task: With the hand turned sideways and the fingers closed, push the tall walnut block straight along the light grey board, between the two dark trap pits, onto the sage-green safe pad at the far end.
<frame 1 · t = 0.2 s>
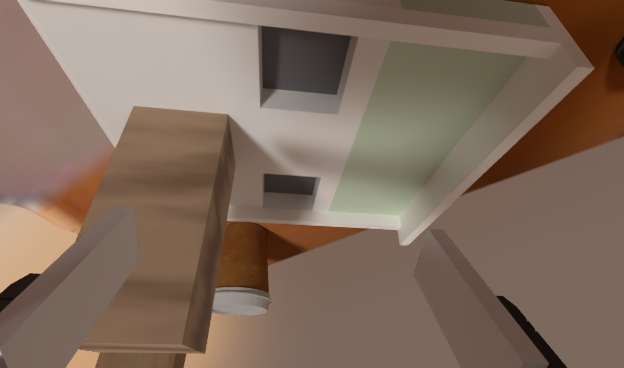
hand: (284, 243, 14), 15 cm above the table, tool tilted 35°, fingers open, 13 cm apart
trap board: (285, 125, 29), on the table
disposable coffee cup: (246, 229, 50), on the table
walnut block: (190, 139, 27), point 2 cm above the table, touching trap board
wooden block: (174, 243, 55), on the table
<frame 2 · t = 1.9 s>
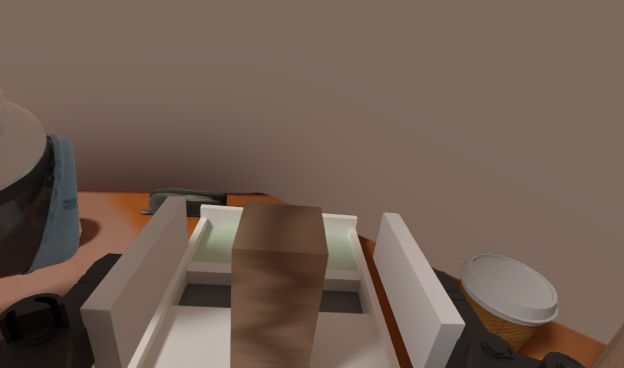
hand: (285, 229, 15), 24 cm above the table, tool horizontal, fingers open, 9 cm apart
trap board: (273, 311, 41), on the table
disposable coffee cup: (472, 354, 39), on the table
walnut block: (270, 355, 32), point 2 cm above the table, touching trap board
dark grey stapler: (185, 215, 59), on the table
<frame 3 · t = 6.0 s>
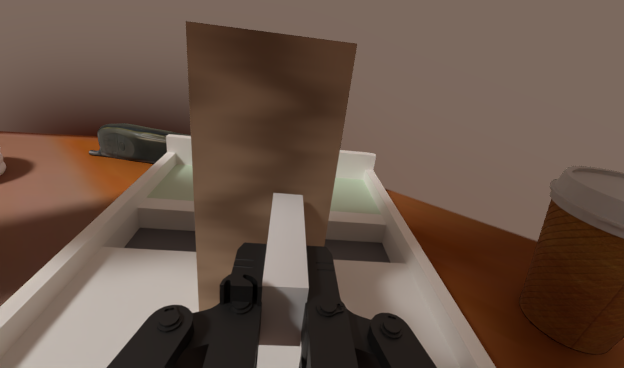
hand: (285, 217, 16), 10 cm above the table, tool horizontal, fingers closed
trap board: (262, 264, 28), on the table
disposable coffee cup: (560, 321, 26), on the table
walnut block: (260, 277, 23), point 3 cm above the table, touching gripper
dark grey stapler: (145, 162, 45), on the table
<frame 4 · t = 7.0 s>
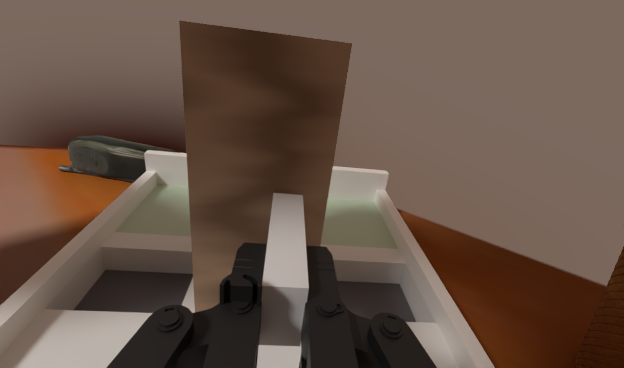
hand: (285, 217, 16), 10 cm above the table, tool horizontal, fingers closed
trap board: (254, 319, 22), on the table
walnut block: (253, 277, 22), point 3 cm above the table, touching gripper
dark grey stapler: (122, 180, 40), on the table
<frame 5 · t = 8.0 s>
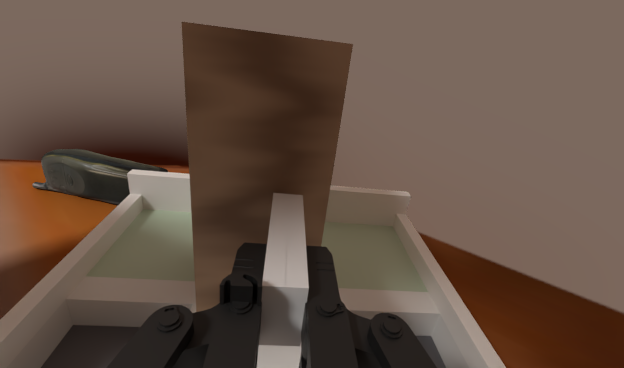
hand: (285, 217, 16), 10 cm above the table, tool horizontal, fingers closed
walnut block: (252, 278, 22), point 2 cm above the table, touching gripper, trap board
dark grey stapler: (103, 199, 35), on the table
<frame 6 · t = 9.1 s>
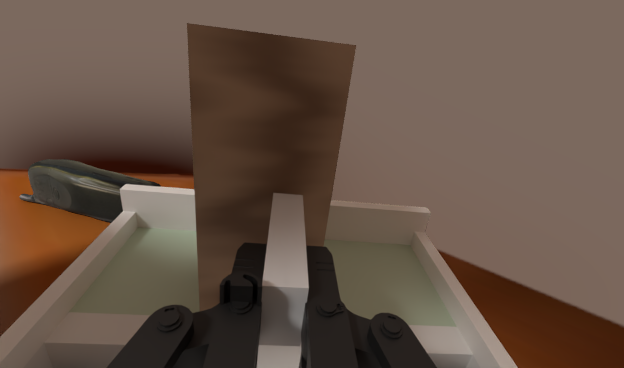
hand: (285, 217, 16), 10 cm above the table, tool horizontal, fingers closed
walnut block: (253, 278, 22), point 2 cm above the table, touching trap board
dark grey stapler: (93, 214, 32), on the table
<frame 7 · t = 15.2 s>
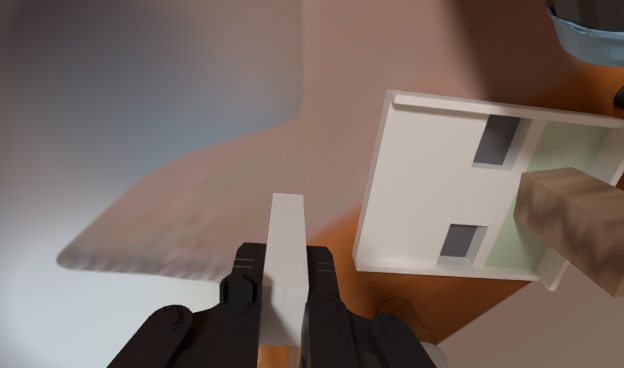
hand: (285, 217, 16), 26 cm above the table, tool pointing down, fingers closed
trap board: (464, 189, 47), on the table
disposable coffee cup: (394, 309, 57), on the table
walnut block: (541, 192, 45), point 2 cm above the table, touching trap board
wooden block: (317, 338, 59), on the table
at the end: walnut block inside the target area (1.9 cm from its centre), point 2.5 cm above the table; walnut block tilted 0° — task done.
